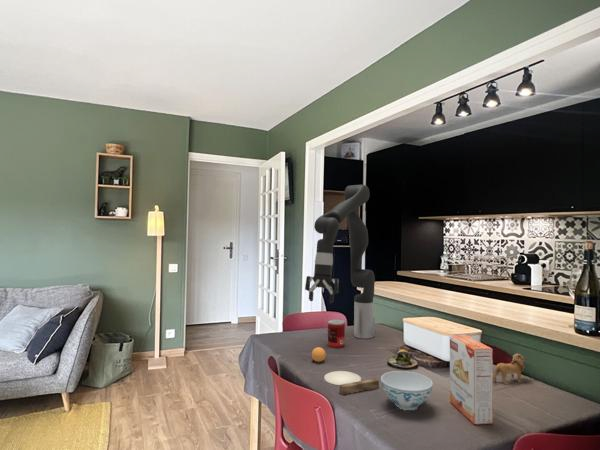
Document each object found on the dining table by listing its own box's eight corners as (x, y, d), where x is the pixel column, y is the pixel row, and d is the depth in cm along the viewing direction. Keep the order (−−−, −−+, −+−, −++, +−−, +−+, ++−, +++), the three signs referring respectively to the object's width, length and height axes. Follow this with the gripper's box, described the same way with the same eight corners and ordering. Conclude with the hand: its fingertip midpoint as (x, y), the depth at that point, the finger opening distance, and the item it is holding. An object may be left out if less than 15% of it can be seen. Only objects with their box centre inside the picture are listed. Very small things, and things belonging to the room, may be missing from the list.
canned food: (344, 343, 179) (344, 319, 179) (344, 348, 171) (344, 323, 171) (328, 342, 180) (328, 319, 180) (327, 347, 172) (327, 323, 172)
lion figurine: (515, 375, 140) (515, 351, 140) (529, 381, 135) (529, 355, 136) (487, 382, 134) (487, 356, 134) (501, 388, 129) (501, 361, 129)
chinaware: (375, 395, 123) (375, 371, 123) (420, 394, 124) (420, 370, 124) (389, 418, 108) (389, 391, 108) (441, 417, 109) (441, 389, 109)
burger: (382, 366, 150) (382, 347, 150) (394, 358, 159) (394, 340, 160) (412, 373, 143) (412, 353, 143) (422, 364, 152) (422, 345, 152)
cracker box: (448, 402, 118) (448, 334, 118) (467, 401, 119) (467, 334, 119) (472, 425, 104) (472, 348, 104) (494, 424, 105) (494, 347, 105)
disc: (348, 369, 145) (348, 369, 145) (368, 382, 133) (368, 381, 133) (318, 374, 140) (318, 374, 140) (335, 388, 128) (335, 387, 128)
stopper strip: (375, 385, 130) (375, 378, 130) (378, 388, 129) (378, 380, 129) (339, 392, 125) (339, 384, 125) (342, 395, 123) (342, 387, 123)
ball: (321, 358, 158) (321, 344, 158) (328, 362, 153) (328, 348, 153) (309, 360, 155) (309, 346, 156) (315, 364, 150) (315, 350, 150)
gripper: (342, 265, 165) (339, 303, 163) (310, 262, 170) (307, 299, 168) (337, 264, 158) (334, 304, 156) (305, 262, 163) (301, 300, 161)
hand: (320, 302), depth 162 cm, fingers open, 8 cm apart
